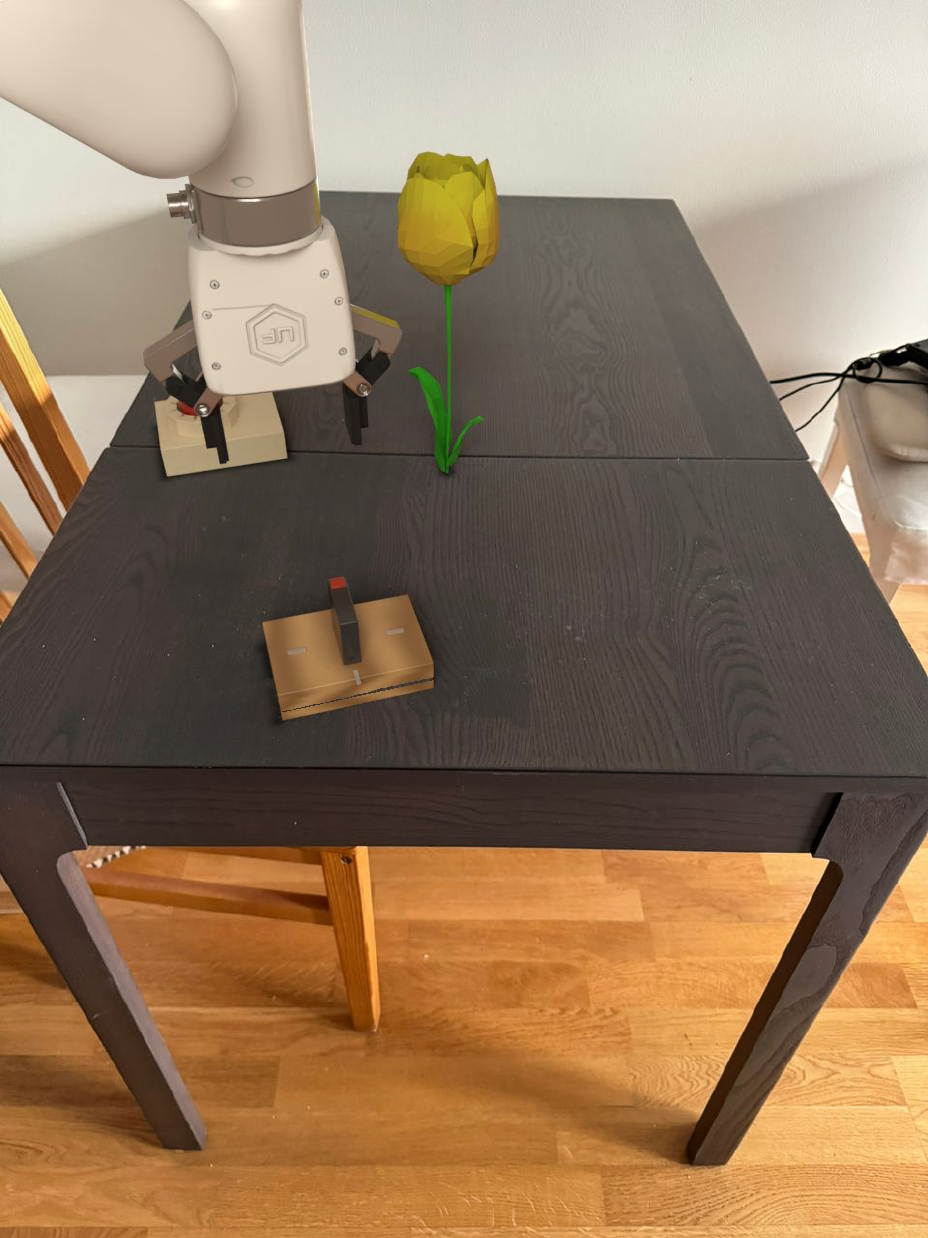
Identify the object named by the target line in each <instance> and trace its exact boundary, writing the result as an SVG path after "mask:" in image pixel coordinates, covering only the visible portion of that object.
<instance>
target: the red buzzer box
mask: <svg viewBox="0 0 928 1238" xmlns="http://www.w3.org/2000/svg"><path fill="white" fill-rule="evenodd" d="M220 403H221V407H220V412H221V417H222V422H223V428H224V433H225V438H226V444H227V450H228V456H229V461H227V463H226V464H220V463H219V458H218V453H217V448H210V449H207V448H206V443H205V439H204V434H203V429H202V424H201V419H200V417H199V416H191V415H184V414H183V413H182V412H181V411H180V407H179V402H178V399H176V398H174V397H173V396H171V395H169V397H168V398H167V399H166V400H159V401H154V410H155V418H156V425H157V433H158V439H159V448H160V453H161V458H162V461H163V465H164V469H165V473H166V477H173V476H174V477H175V476H180V475H181V476H182V475H186V474H187V475H188V474H193V473H201V472H207V471H214V470H221V469H226V468H233V467H240V466H246V465H253V464H258V463H266V462H273V461H278V460H279V461H280V460H284V459H285V460H286V459H288V452H287V445H286V437H285V432H284V427H283V424H282V421H281V418H280V414H279V411H278V408H277V404H276V401H275V397H274V394H273V392H269V393H261V394H252V395H243V396H224V395H223V397H222V398H221V400H220Z"/></svg>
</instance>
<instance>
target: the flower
mask: <svg viewBox="0 0 928 1238" xmlns="http://www.w3.org/2000/svg"><path fill="white" fill-rule="evenodd" d="M497 192H498V191H497V185H496V182H495V178H494V175H493V171H492V168H491V163H490V160H489V159H488V158H487V157H486V158H485V159H484V160H482V161H481V162H479V163H478V164H477V163H476V161H475V160H474V159H473V157H472V156H471V155H466V156H463V155H455V154H452V153H448V152H447V153H445V154H444V155H442V154H440V153H437V152H433V151H425V152H420V153H418V154H417V155H416V156H415V157H414V160H413V162H412V163H411V165H410V167H409V168H408V170H407V176H406V181H405V184H404V186H403V187H402V189H401V193H400V195H399V198H398V201H397V221H398V222H397V227H396V232H397V247H398V250H399V252H400V254H401V255H402V257H403V259H404V260H405V262H407V263H408V264H409V265H410V266H411V267H412V268H413V269H414V270H416V271H417V272H418V273H419V274H421V275H422V276H423V277H424V278H425V279H428V280H429V281H430V282H432V283H434V284H435V285H436V286H437V285H438V286H443V288H444V289H443V290H444V301H445V302H444V303H445V315H446V316H445V317H446V342H447V345H446V346H447V400H446V401H447V404H446V405H447V407H446V406H445V399H444V394H443V391H442V388H441V384H440V383H439V382H438V381H437V380H436V379H435V378H434V377H433V376H432V375H431V374H430V373H429V372H428V371H427V370H426V369H424V368H422V367H421V366H417V367H414V368H412V369H408V370H407V373H408V374H410V375H411V376H412V377H413V378H415V379H416V380H417V381H419V383H420V385H421V388H422V391H423V393H424V396H425V398H426V402H427V403H426V404H427V406H428V410H429V413H430V415H431V417H432V420H433V430H434V431H433V432H434V435H433V436H434V437H433V438H434V444H433V445H434V447H433V448H434V450H433V456H434V459H435V462H436V464H437V466H438V468H439V470H440V471H441V472H443V473H445V474H449V468H450V467H451V466H452V465H454V463H455V462H456V461H457V460H458V458H459V455H460V451H461V447H462V443H463V439H464V436H465V434H466V432H467V430H468V429H469V428H470V427H472V425H474V424H477V423H480V422H483V421H485V419H484V418H482V416H480V415H478V416H477V417H474V418H473V419H470V420H469V421H468V422H467V423H466V424H465V426H463V429H462V431H461V433H460V434H459V436H458V438H457V440H456V441H455V443H454V446H453V449H452V452H451V454H450V449H451V445H452V441H453V430H452V427H451V422H452V381H451V380H452V375H451V373H452V371H451V370H452V369H451V368H452V367H451V365H452V364H451V363H452V361H451V359H452V357H451V356H452V354H451V353H452V346H451V345H452V291H453V289H452V287H453V286H457V285H458V284H461V282H462V281H463V280H464V279H465V278H469V277H470V276H472V275H475V274H477V273H479V272H481V271H482V270H483V269H485V268H488V266H490V265H491V264H493V261H494V260H495V258H496V256H497V253H498V252H499V248H500V231H501V230H500V229H501V228H500V227H501V226H500V208H499V200H498V193H497ZM446 409H447V410H446Z"/></svg>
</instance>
